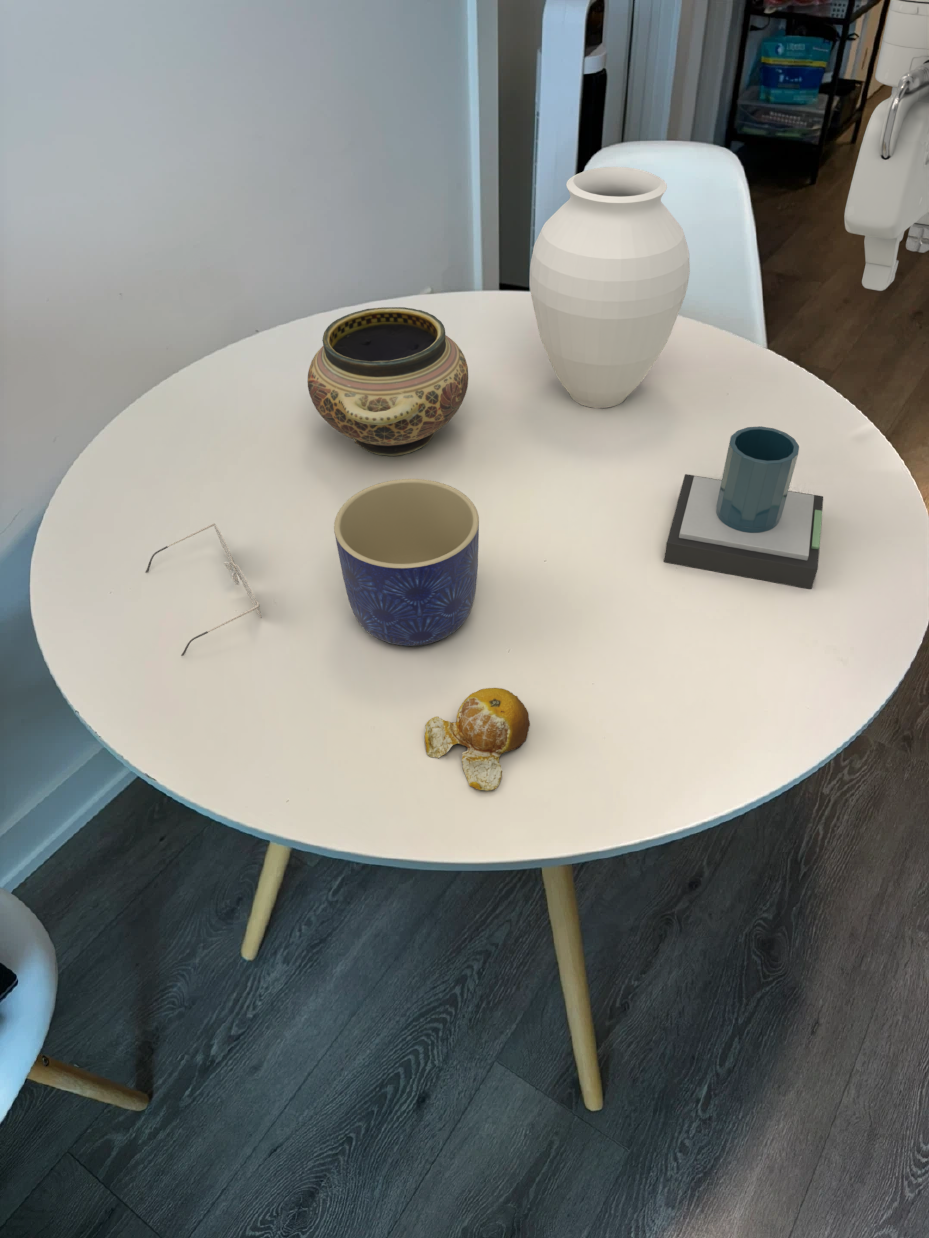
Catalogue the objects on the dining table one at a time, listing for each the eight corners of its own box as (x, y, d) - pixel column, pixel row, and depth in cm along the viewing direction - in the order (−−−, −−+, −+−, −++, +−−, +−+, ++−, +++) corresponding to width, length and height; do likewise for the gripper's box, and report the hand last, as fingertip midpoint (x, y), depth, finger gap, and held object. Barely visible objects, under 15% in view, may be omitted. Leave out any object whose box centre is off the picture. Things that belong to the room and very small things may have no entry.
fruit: (411, 741, 75) (408, 711, 73) (482, 686, 79) (482, 656, 77) (484, 800, 71) (484, 771, 68) (556, 739, 75) (558, 709, 72)
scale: (817, 515, 96) (824, 491, 94) (811, 589, 87) (819, 564, 85) (681, 493, 99) (685, 469, 97) (663, 562, 91) (667, 537, 89)
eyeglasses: (268, 628, 85) (257, 597, 82) (184, 664, 83) (170, 633, 80) (223, 545, 94) (211, 515, 91) (146, 575, 92) (132, 545, 89)
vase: (606, 345, 123) (624, 144, 106) (701, 401, 113) (739, 186, 95) (498, 385, 116) (498, 176, 99) (588, 448, 105) (607, 226, 88)
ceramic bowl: (358, 400, 120) (315, 291, 110) (490, 371, 115) (457, 256, 106) (321, 515, 102) (265, 398, 92) (475, 487, 98) (433, 361, 88)
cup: (782, 500, 92) (800, 432, 87) (777, 538, 88) (796, 468, 83) (719, 490, 94) (733, 422, 88) (712, 526, 90) (726, 457, 84)
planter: (323, 604, 87) (307, 511, 80) (431, 553, 92) (426, 462, 85) (393, 681, 80) (383, 587, 72) (506, 622, 85) (508, 528, 78)
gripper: (957, 81, 52) (895, 321, 61) (1044, 30, 64) (981, 237, 73) (845, 73, 55) (801, 303, 64) (948, 26, 67) (899, 225, 76)
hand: (898, 267), depth 68 cm, fingers open, 8 cm apart
